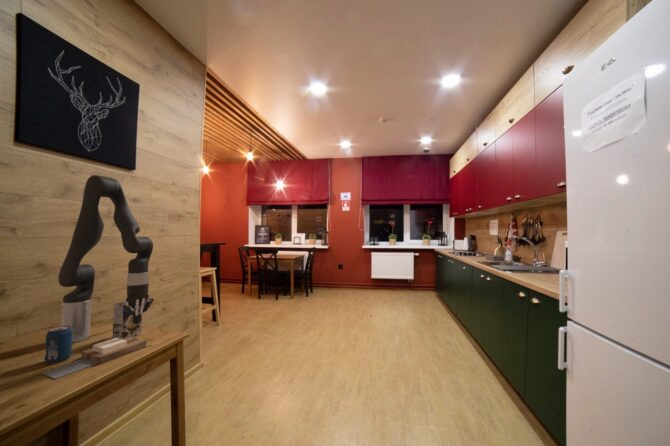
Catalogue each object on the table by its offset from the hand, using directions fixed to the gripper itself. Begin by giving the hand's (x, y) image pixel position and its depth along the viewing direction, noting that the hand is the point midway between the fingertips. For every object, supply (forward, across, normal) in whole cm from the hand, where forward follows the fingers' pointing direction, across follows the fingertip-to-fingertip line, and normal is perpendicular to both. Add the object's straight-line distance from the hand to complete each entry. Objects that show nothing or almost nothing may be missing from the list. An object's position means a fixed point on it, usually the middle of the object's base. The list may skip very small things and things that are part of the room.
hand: (137, 323), depth 113 cm
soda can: (+9, +20, -12) cm, 25 cm away
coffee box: (+9, -4, -14) cm, 17 cm away
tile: (+7, +10, 0) cm, 12 cm away
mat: (+9, +21, 0) cm, 23 cm away
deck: (+9, +8, -1) cm, 12 cm away
